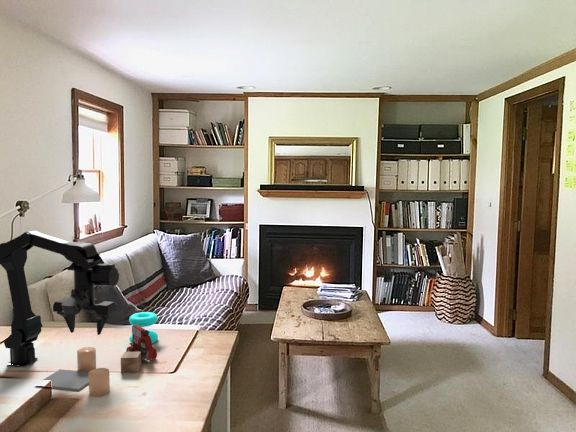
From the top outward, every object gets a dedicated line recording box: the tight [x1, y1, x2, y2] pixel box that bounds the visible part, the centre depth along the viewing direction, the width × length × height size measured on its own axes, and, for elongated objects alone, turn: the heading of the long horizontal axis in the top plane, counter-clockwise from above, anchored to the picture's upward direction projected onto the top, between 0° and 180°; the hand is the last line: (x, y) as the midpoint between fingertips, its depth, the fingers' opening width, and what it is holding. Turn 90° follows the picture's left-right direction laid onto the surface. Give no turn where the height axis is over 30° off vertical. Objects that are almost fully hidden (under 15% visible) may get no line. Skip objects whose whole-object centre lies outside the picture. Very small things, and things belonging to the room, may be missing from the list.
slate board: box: [42, 368, 89, 392], centre depth 143 cm, size 14×11×1 cm
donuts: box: [128, 311, 159, 344], centre depth 176 cm, size 10×10×10 cm
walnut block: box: [120, 351, 142, 374], centre depth 151 cm, size 5×5×5 cm
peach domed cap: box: [88, 367, 111, 398], centre depth 136 cm, size 5×5×6 cm
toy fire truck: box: [125, 325, 158, 363], centre depth 160 cm, size 7×12×10 cm, turn 42°
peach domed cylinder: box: [76, 346, 97, 372], centre depth 152 cm, size 5×5×6 cm
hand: (85, 333), depth 151 cm, fingers open, 9 cm apart
